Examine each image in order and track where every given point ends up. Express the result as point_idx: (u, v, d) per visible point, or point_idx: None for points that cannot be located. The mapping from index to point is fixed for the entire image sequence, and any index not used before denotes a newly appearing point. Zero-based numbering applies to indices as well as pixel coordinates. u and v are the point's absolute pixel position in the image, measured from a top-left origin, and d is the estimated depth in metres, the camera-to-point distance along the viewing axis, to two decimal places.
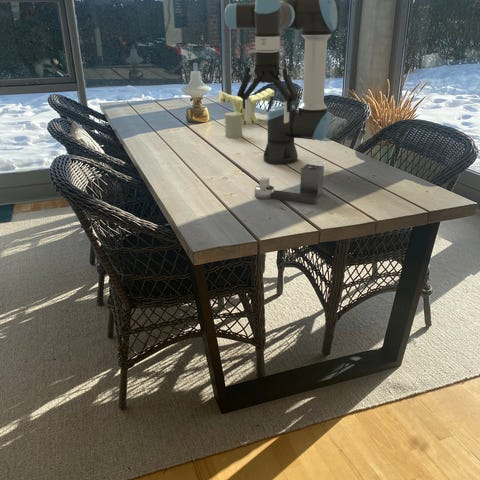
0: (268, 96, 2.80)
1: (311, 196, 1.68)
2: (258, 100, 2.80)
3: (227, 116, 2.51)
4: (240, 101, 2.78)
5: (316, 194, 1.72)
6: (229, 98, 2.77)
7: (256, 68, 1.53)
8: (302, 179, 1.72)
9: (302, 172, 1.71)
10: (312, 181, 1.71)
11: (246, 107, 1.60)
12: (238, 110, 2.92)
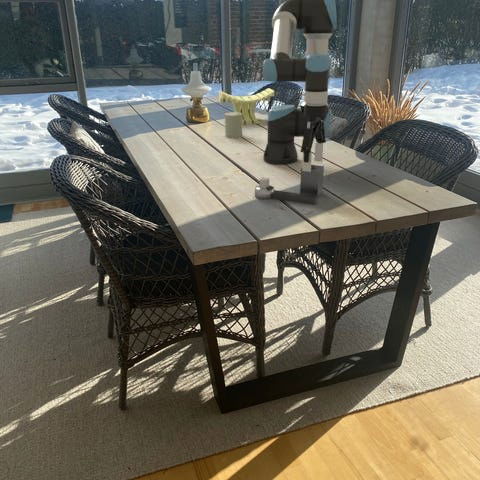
0: (268, 96, 2.80)
1: (311, 196, 1.68)
2: (258, 100, 2.80)
3: (227, 116, 2.51)
4: (240, 101, 2.78)
5: (316, 194, 1.72)
6: (229, 98, 2.77)
7: None
8: (302, 179, 1.72)
9: (302, 172, 1.71)
10: (312, 181, 1.71)
11: (315, 149, 1.76)
12: (238, 110, 2.92)
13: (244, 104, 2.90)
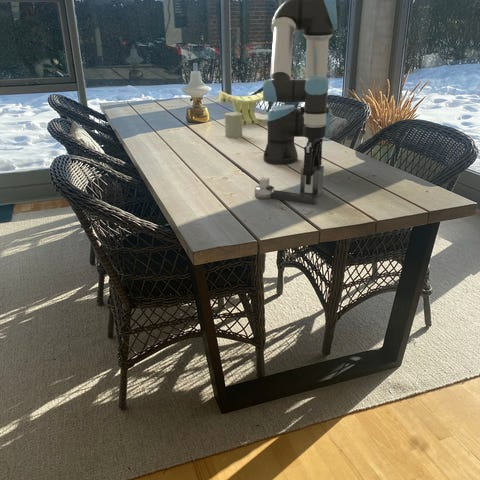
0: None
1: (311, 196, 1.68)
2: (258, 100, 2.80)
3: (227, 116, 2.51)
4: (240, 101, 2.78)
5: (316, 194, 1.72)
6: (229, 98, 2.77)
7: None
8: (302, 179, 1.72)
9: (302, 172, 1.71)
10: None
11: None
12: (238, 110, 2.92)
13: (244, 104, 2.90)
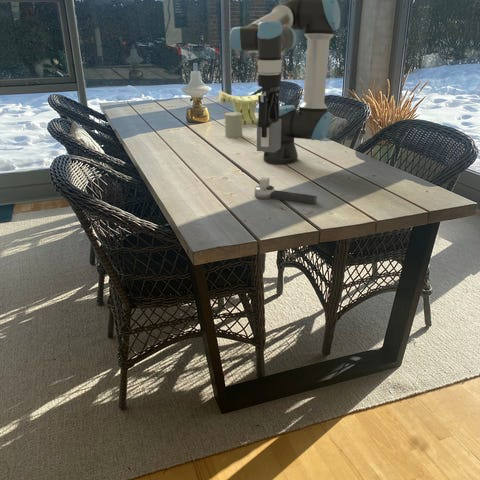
0: None
1: (311, 196, 1.68)
2: (258, 100, 2.80)
3: (227, 116, 2.51)
4: (240, 101, 2.78)
5: (273, 148, 1.64)
6: (229, 98, 2.77)
7: None
8: (258, 132, 1.64)
9: None
10: None
11: None
12: (238, 110, 2.92)
13: (244, 104, 2.90)
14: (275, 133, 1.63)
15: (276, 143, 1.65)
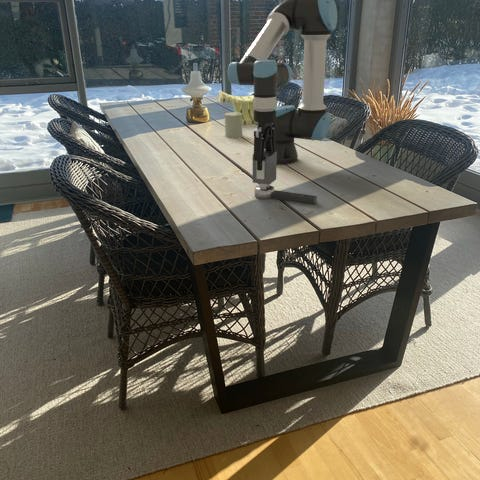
0: None
1: (311, 196, 1.68)
2: None
3: (227, 116, 2.51)
4: (240, 101, 2.78)
5: (268, 180, 1.69)
6: (229, 98, 2.77)
7: None
8: (254, 165, 1.69)
9: None
10: None
11: None
12: (238, 110, 2.92)
13: (244, 104, 2.90)
14: (270, 166, 1.68)
15: (271, 175, 1.70)
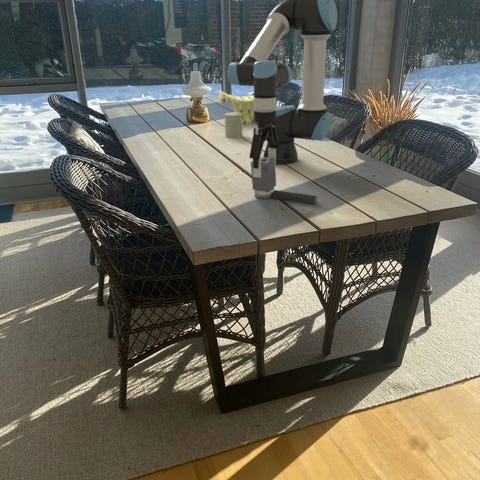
0: None
1: (311, 196, 1.68)
2: None
3: (227, 116, 2.51)
4: (240, 101, 2.78)
5: (268, 186, 1.70)
6: (229, 98, 2.77)
7: None
8: None
9: None
10: (263, 173, 1.69)
11: (268, 154, 1.76)
12: (238, 110, 2.92)
13: (244, 104, 2.90)
14: (269, 172, 1.69)
15: (271, 181, 1.71)
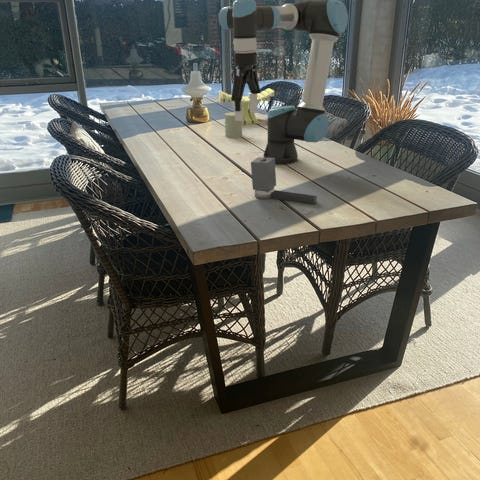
0: (268, 96, 2.80)
1: (311, 196, 1.68)
2: (258, 100, 2.80)
3: (227, 116, 2.51)
4: None
5: (268, 186, 1.70)
6: (229, 98, 2.77)
7: None
8: (253, 172, 1.71)
9: (253, 165, 1.70)
10: (263, 173, 1.69)
11: (250, 101, 1.76)
12: None
13: (244, 104, 2.90)
14: (269, 172, 1.69)
15: (271, 181, 1.71)
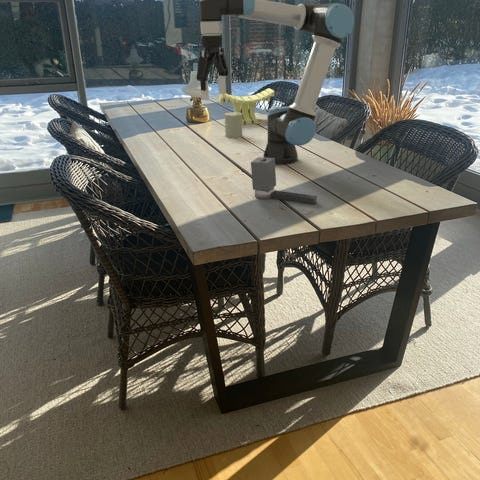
0: (268, 96, 2.80)
1: (311, 196, 1.68)
2: (258, 100, 2.80)
3: (227, 116, 2.51)
4: (240, 101, 2.78)
5: (268, 186, 1.70)
6: (229, 98, 2.77)
7: None
8: (253, 172, 1.71)
9: (253, 165, 1.70)
10: (263, 173, 1.69)
11: None
12: (238, 110, 2.92)
13: (244, 104, 2.90)
14: (269, 172, 1.69)
15: (271, 181, 1.71)
